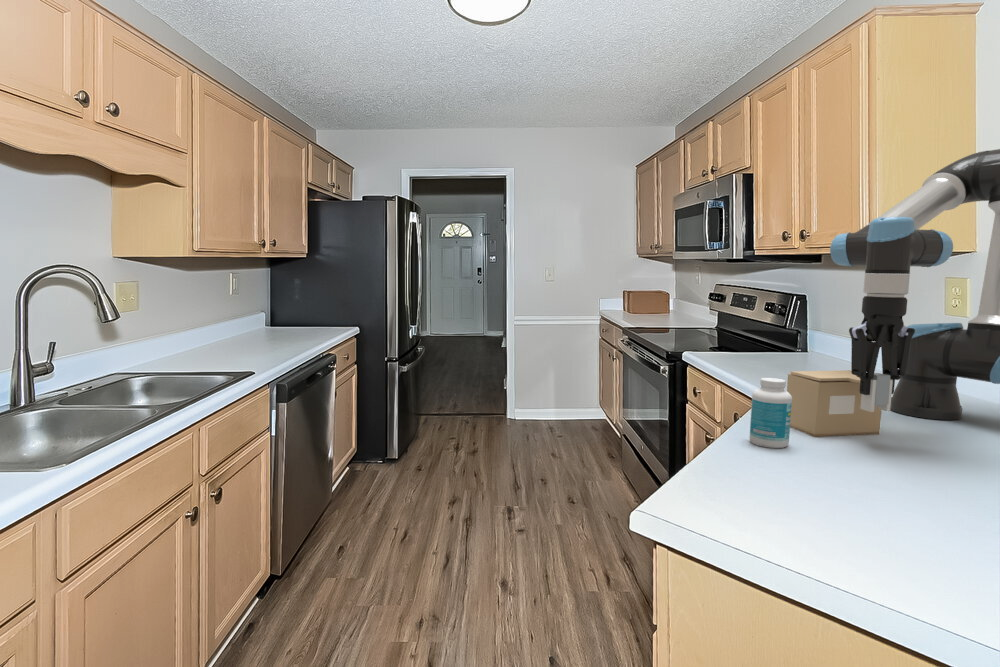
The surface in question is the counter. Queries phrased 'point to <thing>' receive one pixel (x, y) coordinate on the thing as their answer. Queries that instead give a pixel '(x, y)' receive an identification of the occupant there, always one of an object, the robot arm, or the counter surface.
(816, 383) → the carton
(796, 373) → the flap
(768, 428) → the pill bottle
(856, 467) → the counter surface
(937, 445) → the counter surface
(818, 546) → the counter surface
